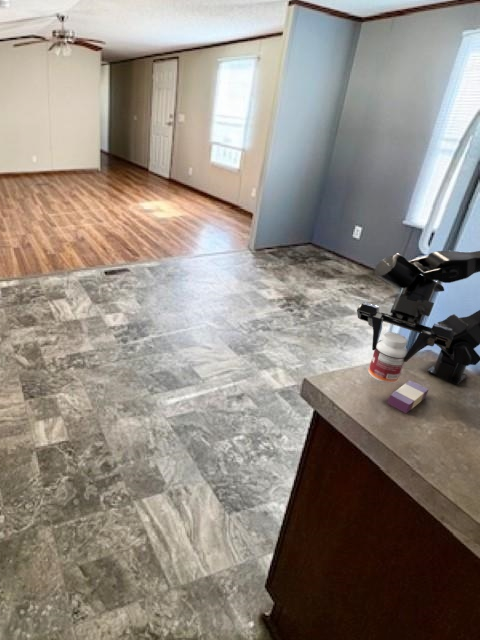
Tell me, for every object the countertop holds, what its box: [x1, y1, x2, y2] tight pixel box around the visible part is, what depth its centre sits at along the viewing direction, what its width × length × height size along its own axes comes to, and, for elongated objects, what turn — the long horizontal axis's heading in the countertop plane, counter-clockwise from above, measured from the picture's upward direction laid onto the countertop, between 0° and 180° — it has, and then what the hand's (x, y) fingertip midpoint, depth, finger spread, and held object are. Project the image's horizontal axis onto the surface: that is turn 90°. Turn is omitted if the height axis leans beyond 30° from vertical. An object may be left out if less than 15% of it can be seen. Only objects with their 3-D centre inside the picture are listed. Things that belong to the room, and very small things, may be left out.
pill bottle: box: [368, 331, 409, 384], centre depth 100 cm, size 6×6×11 cm
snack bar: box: [386, 380, 430, 414], centre depth 99 cm, size 10×4×2 cm, turn 123°
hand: (388, 355), depth 98 cm, fingers closed on pill bottle, 6 cm apart
